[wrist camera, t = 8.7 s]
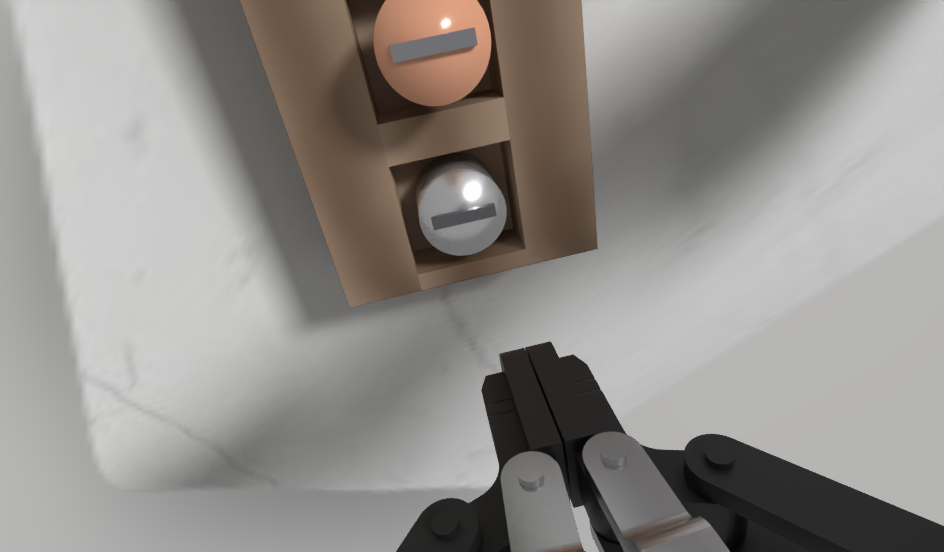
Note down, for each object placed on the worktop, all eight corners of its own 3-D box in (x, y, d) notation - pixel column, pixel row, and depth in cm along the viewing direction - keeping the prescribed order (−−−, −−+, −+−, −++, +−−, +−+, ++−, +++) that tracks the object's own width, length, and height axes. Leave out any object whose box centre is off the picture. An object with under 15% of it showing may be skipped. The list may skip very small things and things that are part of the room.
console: (513, -303, 21) (554, -406, 16) (563, 211, 33) (597, 248, 28) (187, -245, 21) (120, -332, 16) (355, 259, 32) (349, 307, 27)
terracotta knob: (466, -28, 21) (482, -36, 17) (483, 82, 23) (501, 94, 20) (362, -7, 21) (358, -11, 17) (389, 102, 23) (390, 118, 19)
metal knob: (486, 145, 27) (500, 164, 24) (498, 219, 29) (513, 247, 26) (406, 163, 27) (410, 185, 23) (425, 236, 29) (430, 266, 26)
